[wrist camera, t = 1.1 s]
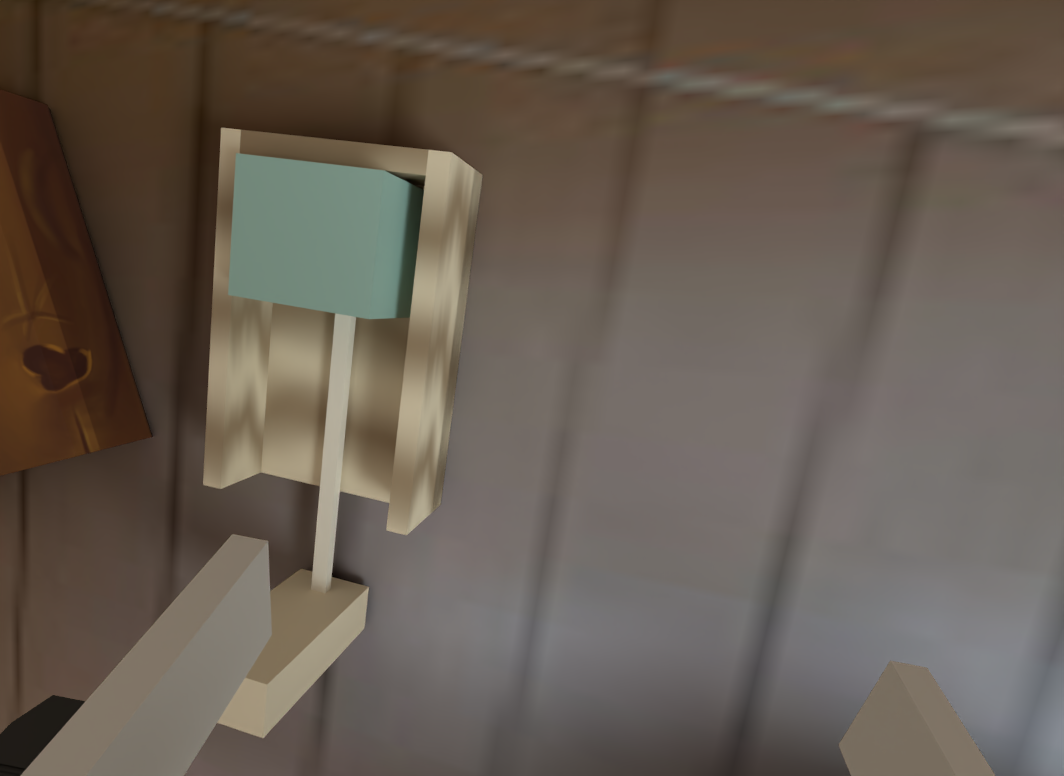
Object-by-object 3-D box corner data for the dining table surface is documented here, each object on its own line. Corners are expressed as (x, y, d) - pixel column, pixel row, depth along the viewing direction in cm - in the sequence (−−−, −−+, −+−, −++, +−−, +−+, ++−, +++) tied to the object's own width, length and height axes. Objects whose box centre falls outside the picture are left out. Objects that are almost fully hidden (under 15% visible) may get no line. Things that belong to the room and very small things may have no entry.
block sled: (385, 634, 38) (289, 747, 28) (278, 603, 39) (153, 700, 29) (435, 195, 33) (340, 149, 23) (311, 180, 34) (174, 130, 25)
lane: (440, 504, 36) (406, 535, 31) (260, 462, 38) (203, 484, 34) (482, 175, 33) (451, 152, 28) (281, 152, 35) (221, 127, 30)
